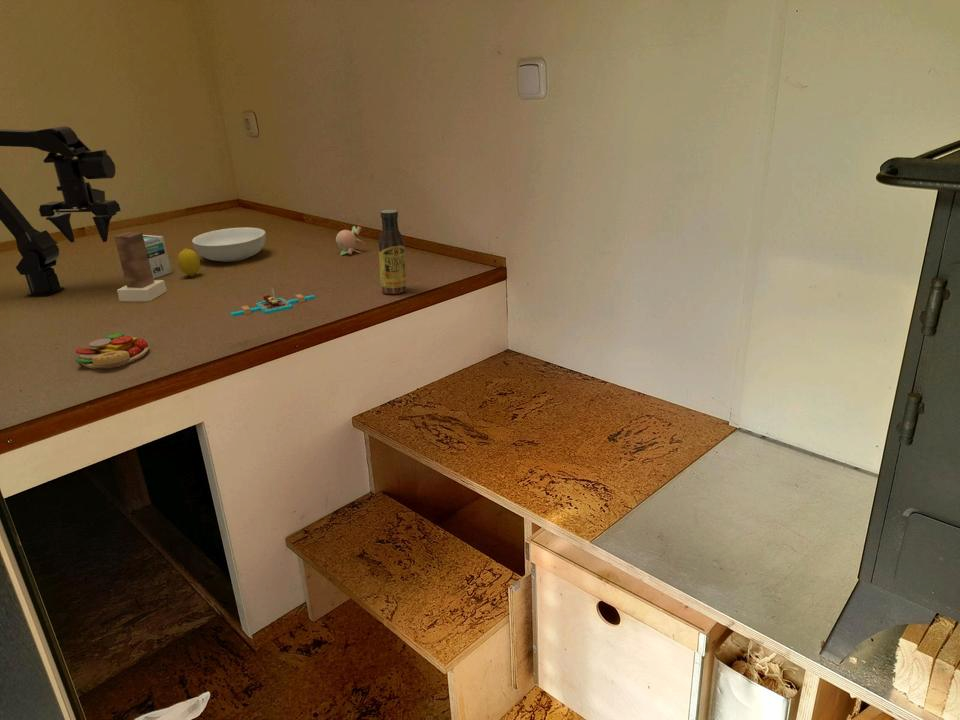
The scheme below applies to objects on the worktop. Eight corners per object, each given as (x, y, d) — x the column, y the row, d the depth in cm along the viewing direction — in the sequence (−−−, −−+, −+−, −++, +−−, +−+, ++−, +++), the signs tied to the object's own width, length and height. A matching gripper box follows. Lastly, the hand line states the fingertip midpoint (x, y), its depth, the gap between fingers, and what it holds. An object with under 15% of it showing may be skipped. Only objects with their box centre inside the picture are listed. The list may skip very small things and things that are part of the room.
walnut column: (127, 287, 174) (113, 236, 169) (139, 282, 178) (126, 232, 173) (142, 288, 173) (129, 236, 168) (154, 282, 177) (142, 232, 172)
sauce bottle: (387, 297, 167) (378, 215, 159) (378, 290, 172) (369, 210, 164) (412, 292, 170) (404, 211, 162) (402, 285, 175) (395, 207, 167)
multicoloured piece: (226, 311, 164) (236, 322, 157) (221, 290, 162) (231, 300, 155) (307, 294, 174) (320, 303, 167) (303, 273, 172) (317, 282, 164)
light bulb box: (172, 272, 196) (164, 235, 191) (153, 279, 190) (144, 241, 186) (145, 269, 200) (136, 233, 196) (126, 276, 194) (116, 238, 190)
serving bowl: (181, 265, 203) (176, 242, 200) (229, 247, 221) (225, 225, 218) (237, 270, 196) (233, 246, 193) (283, 251, 213) (279, 228, 210)
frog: (371, 234, 207) (359, 233, 213) (350, 220, 202) (338, 219, 207) (358, 263, 206) (345, 262, 211) (336, 250, 200) (324, 249, 206)
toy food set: (111, 376, 132) (107, 360, 131) (62, 368, 137) (57, 353, 135) (164, 349, 143) (160, 335, 142) (116, 343, 148) (112, 329, 147)
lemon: (195, 279, 188) (189, 251, 185) (177, 279, 189) (170, 250, 186) (206, 273, 193) (200, 245, 190) (188, 273, 194) (182, 245, 191)
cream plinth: (119, 301, 173) (116, 290, 172) (138, 291, 181) (135, 280, 179) (149, 301, 172) (146, 290, 171) (166, 291, 180) (164, 280, 178)
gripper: (125, 174, 178) (140, 234, 184) (59, 175, 180) (76, 234, 186) (98, 181, 167) (114, 244, 174) (28, 183, 170) (47, 245, 176)
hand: (88, 242), depth 178 cm, fingers open, 9 cm apart
